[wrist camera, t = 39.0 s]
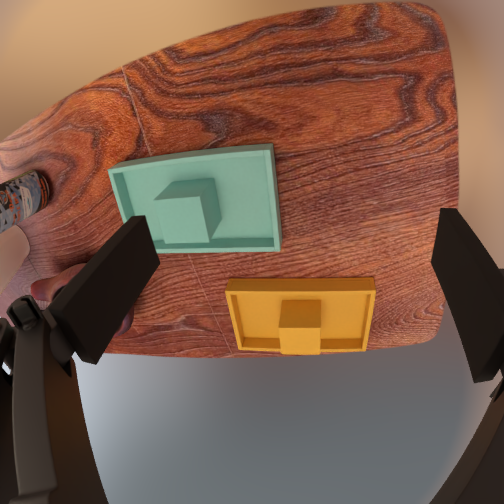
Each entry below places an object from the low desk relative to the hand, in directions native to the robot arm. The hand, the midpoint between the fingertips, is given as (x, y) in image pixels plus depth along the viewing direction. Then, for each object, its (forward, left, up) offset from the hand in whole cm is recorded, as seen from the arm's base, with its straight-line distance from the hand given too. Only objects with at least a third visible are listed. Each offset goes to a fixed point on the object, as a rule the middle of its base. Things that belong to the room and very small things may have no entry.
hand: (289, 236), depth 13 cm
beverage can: (+37, +1, -20) cm, 42 cm away
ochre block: (+1, +23, -19) cm, 30 cm away
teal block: (+12, +6, -19) cm, 23 cm away
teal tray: (+12, +6, -20) cm, 24 cm away
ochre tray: (+1, +23, -20) cm, 30 cm away
